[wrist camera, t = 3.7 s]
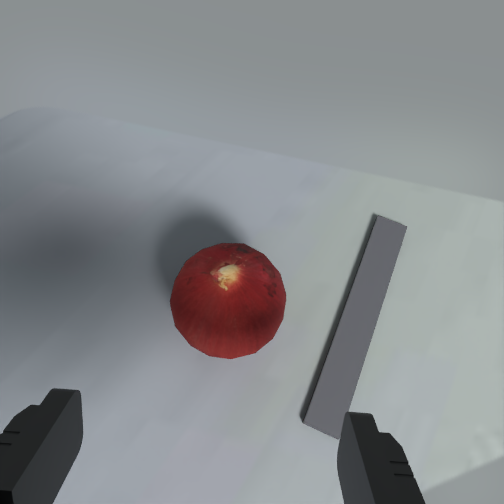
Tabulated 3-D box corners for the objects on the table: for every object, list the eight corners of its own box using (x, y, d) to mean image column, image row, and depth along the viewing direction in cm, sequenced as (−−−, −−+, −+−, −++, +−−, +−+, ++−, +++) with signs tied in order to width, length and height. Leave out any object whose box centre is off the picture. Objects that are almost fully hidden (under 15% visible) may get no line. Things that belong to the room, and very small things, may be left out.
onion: (212, 259, 27) (205, 187, 20) (294, 302, 26) (319, 243, 19) (160, 339, 25) (131, 292, 17) (248, 389, 24) (257, 361, 17)
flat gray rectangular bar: (302, 422, 23) (303, 422, 23) (376, 218, 29) (378, 215, 29) (337, 439, 23) (339, 438, 22) (404, 229, 29) (407, 226, 28)
